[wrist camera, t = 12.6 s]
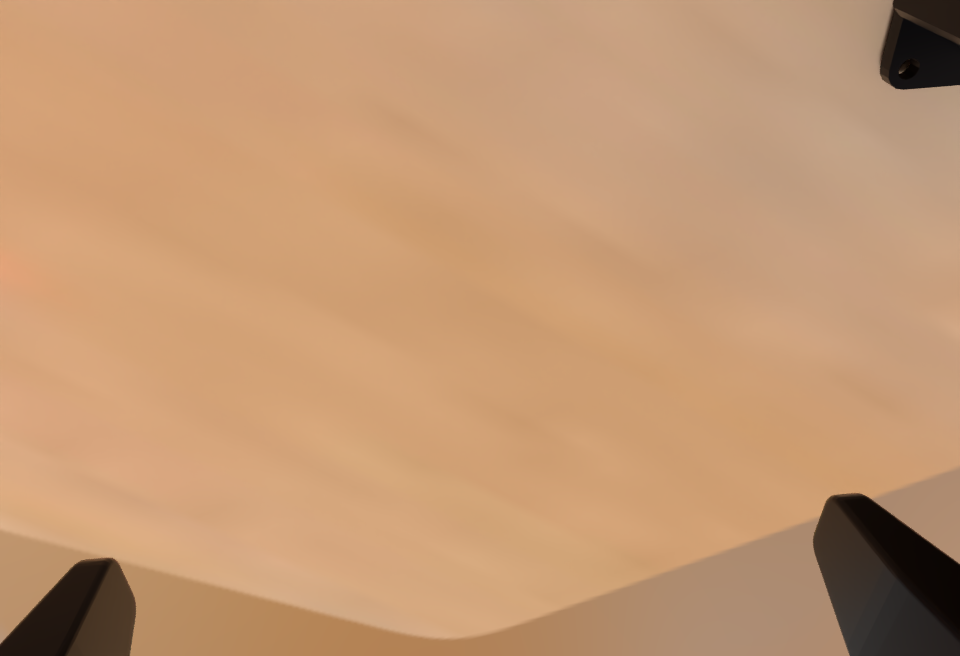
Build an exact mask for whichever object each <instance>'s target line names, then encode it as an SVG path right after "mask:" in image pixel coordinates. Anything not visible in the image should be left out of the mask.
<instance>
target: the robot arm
mask: <svg viewBox="0 0 960 656" xmlns="http://www.w3.org/2000/svg"><path fill="white" fill-rule="evenodd" d="M893 7H894V8H895V12H894V16H893V19H892V23H891V27H890V31H889V35H888V39H887V43H886V46H885V50H884V54H883V58H882V62H881V66H880V75H881V77H882V80H884V81H885V82H887V83H888V84H890V85H891V86H893V87H894V88H896V89H903V90H904V89H917V88H929V87H941V86H953V85H960V0H894V1H893ZM908 59H910V65H909V67H908V69H906V70H905V71H904V72H903V73H901V74H899V68H900V67H901V65H902V64H903V63H904V62H905V61H906V60H908ZM813 547H814V552H815V556H816V558H817V562H818V565H819V567H820V570H821V573H822V576H823V579H824V582H825V585H826V588H827V591H828V594H829V596H830V600H831V603H832V606H833V609H834V612H835V615H836V617H837V620H838V623H839V626H840V629H841V632H842V635H843V638H844V641H845V644H846V647H847V649H848V652H849V655H850V656H960V564H959V563H958V562H956V561H955V560H954V559H952V558H951V557H949V556H948V555H947V554H945V553H944V552H943V551H941V550H940V549H939V548H937V547H936V546H934V545H933V544H932V543H930V542H929V541H927V540H926V539H925V538H924V537H922V536H921V535H919V534H918V533H917V532H915V531H914V530H913V529H911V528H910V527H908V526H907V525H906V524H904V523H903V522H902V521H900V520H899V519H897V518H896V517H895V516H893V515H892V514H891V513H889V512H888V511H887V510H885V509H884V508H882V507H881V506H880V505H878V504H877V503H876V502H874V501H873V500H872V499H870V498H869V497H867V496H865V495H863V494H860V493H851V494H840V495H833V496H831V497H830V498H828V499H827V501H826V503H825V506H824V508H823V511H822V514H821V516H820V519H819V522H818V524H817V527H816V530H815V532H814V537H813ZM135 615H136V603H135V598H134V595H133V593H132V591H131V588H130V586H129V584H128V582H127V580H126V578H125V575H124V573H123V571H122V569H121V567H120V565H119V563H118V562H117V561H116V560H115V559H113V558H98V559H86V560H82V561H80V562H78V563H76V564H75V565H74V566H73V567H72V568H71V569H70V570H69V571H68V572H67V573H66V574H65V575H64V576H63V577H62V578H61V579H60V580H59V582H58V583H57V584H56V585H55V586H54V587H53V588H52V589H51V590H50V591H49V592H48V593H47V594H46V595H45V596H44V598H43V599H42V600H41V601H40V602H39V603H38V604H37V605H36V606H35V607H34V608H33V609H32V610H31V611H30V613H29V614H28V615H27V616H26V617H25V618H24V619H23V620H22V621H21V622H20V623H19V624H18V625H17V626H16V628H15V629H14V630H13V631H12V632H11V633H10V634H9V635H8V636H7V637H6V638H5V639H4V640H3V642H2V643H1V644H0V656H130V650H131V644H132V637H133V629H134V624H135V617H136V616H135Z"/></svg>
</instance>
